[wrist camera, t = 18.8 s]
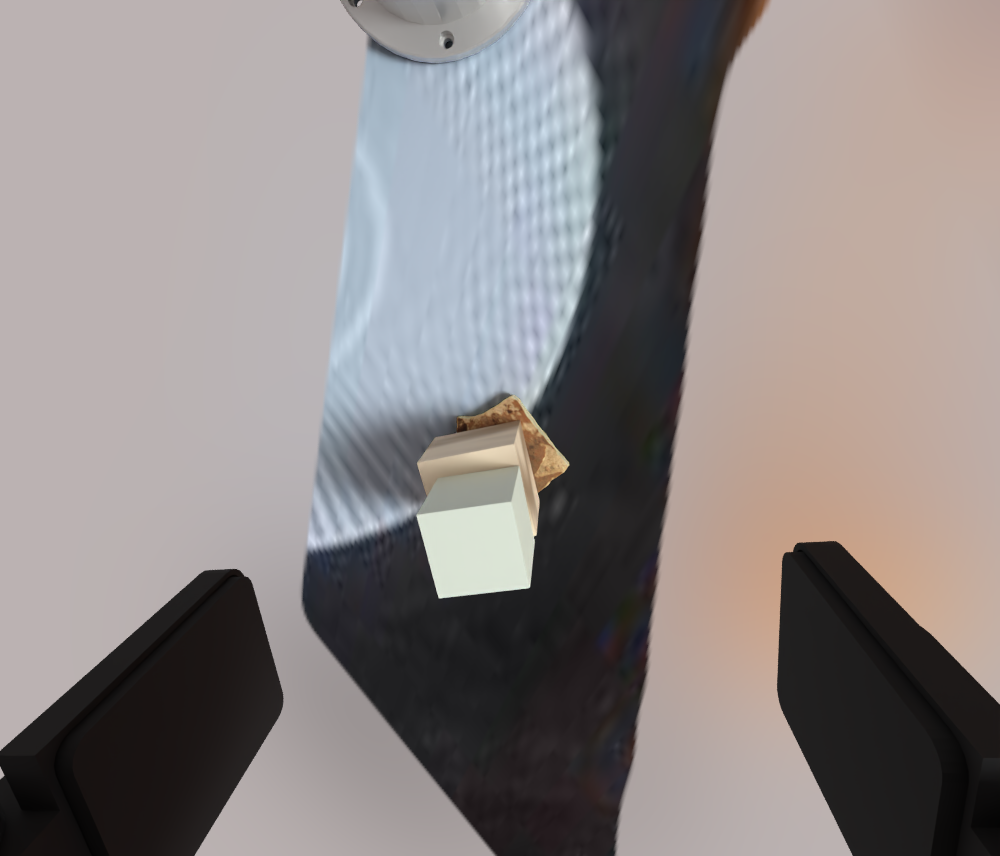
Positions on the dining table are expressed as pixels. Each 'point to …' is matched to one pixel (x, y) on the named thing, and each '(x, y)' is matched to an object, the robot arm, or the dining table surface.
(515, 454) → the beige metal block
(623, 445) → the dining table surface
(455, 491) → the sage block
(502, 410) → the shard
